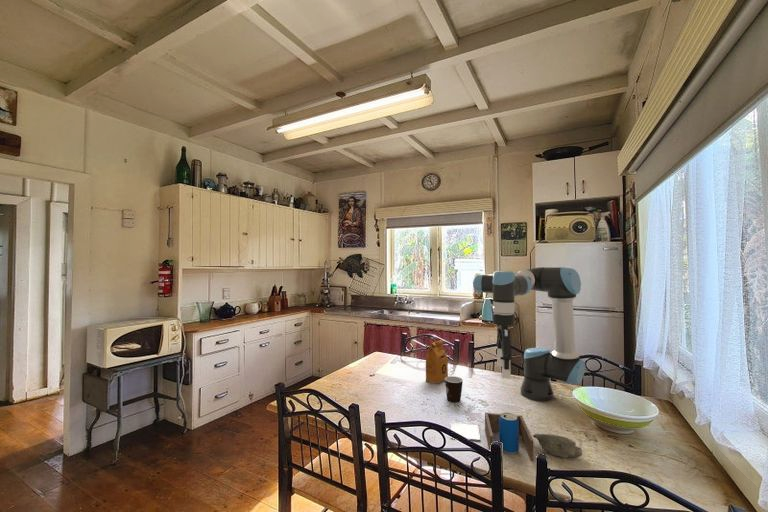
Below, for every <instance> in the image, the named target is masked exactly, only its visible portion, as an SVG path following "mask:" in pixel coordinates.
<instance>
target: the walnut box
mask: <svg viewBox="0 0 768 512" xmlns="http://www.w3.org/2000/svg"><path fill="white" fill-rule="evenodd" d="M500 414H501V413H496V412H495V413H494V412H486V411H485V412H484V433H485V437H486V441H487V442H486V443H487V447H488V451H489V450H490V445H491V443H492V442H493V443H494V433H498V434H499V417H500ZM515 415H516V416H517V419H518V436H519V437H520V438H521V441H522V443H523V447H524V449H525V451H526V454H527V457H528V459H529V461H530V462H534V439H533V437H532V434H531V432H530V430H529V428H528V425H527V424H526V421H525V419H524V417H523V415H518V414H515Z"/></svg>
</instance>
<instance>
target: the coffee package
mask: <svg viewBox="0 0 768 512" xmlns="http://www.w3.org/2000/svg"><path fill="white" fill-rule="evenodd" d="M443 344H444V340H443V339H440V340H438V341H433V342H432V343H430V345H429V348H428V349H427V351H426V354H425V381H426V382H430V383H433V384H439V383H441V382H445V378H446V377H449V367H448V365H449V364H448V363H449V360H448V355H447V353H446V351H445V349H444V347H443Z"/></svg>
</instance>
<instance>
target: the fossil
mask: <svg viewBox="0 0 768 512" xmlns="http://www.w3.org/2000/svg"><path fill="white" fill-rule="evenodd" d="M532 438H534V439H537V441H538V443H539V445H540V446H541V448H542V450H543V451H544V452H546V453H547V454H549V455H552V456H557V457H561V458H565V459H567V458H572V459H573V458H579V457H581V456H583V450H582V448H581V447H580V446H577V443H576V441H574V440H572V439H570V438H568V437H565V436H561V435H557V434H554V433H553V434H552V433H535V434H533V437H532Z"/></svg>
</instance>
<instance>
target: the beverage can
mask: <svg viewBox="0 0 768 512" xmlns="http://www.w3.org/2000/svg"><path fill="white" fill-rule="evenodd" d="M499 414H500V417H499V433H498V439H499V440H498V443H499V442H502V443H503V451H502V452H504V453H506V454H509V455H514V454H516V453H518V452H519V449H520V448H519V444H520V443H519V435H518V419H517V416H516V415H517V414H514V413H512V412H501V413H499Z"/></svg>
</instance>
